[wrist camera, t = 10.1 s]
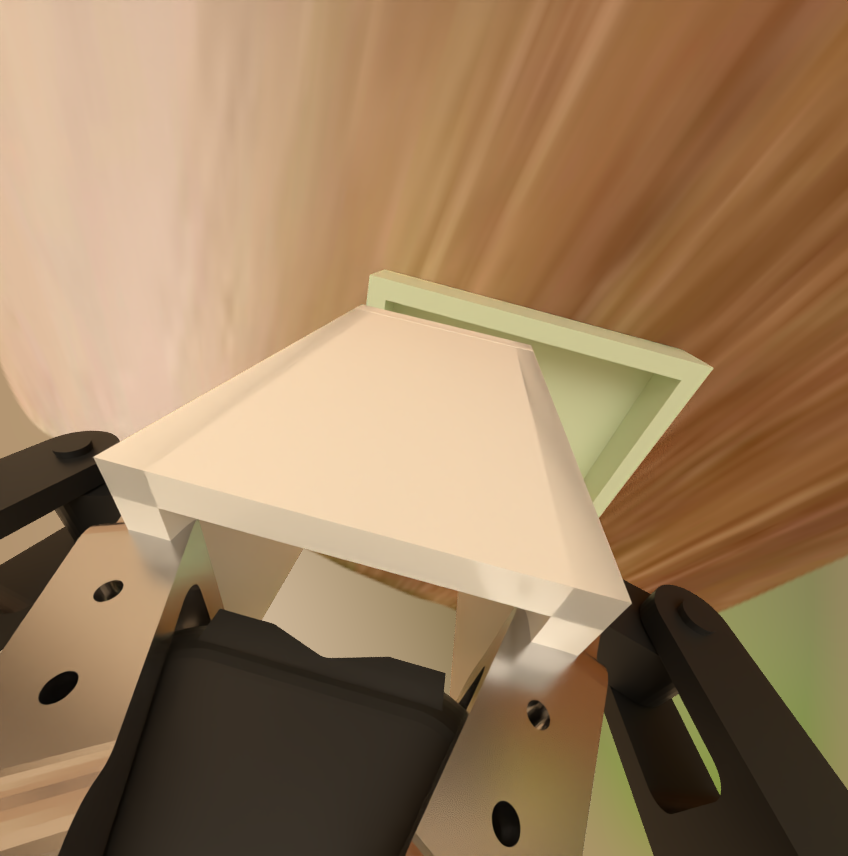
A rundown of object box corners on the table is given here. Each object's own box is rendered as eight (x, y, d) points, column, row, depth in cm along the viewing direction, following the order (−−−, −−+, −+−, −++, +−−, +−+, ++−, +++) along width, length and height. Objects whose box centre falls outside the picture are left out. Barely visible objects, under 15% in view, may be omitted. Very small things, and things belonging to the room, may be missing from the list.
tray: (682, 349, 19) (713, 367, 16) (531, 569, 30) (536, 599, 28) (384, 269, 19) (369, 274, 16) (350, 517, 31) (338, 542, 28)
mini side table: (361, 304, 11) (92, 456, 4) (531, 345, 11) (632, 602, 3) (350, 441, 14) (197, 675, 7) (481, 475, 14) (473, 757, 7)
